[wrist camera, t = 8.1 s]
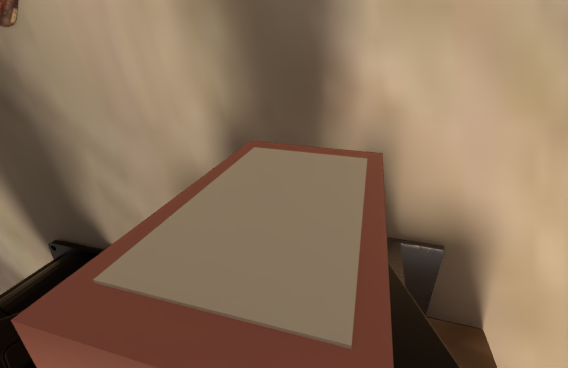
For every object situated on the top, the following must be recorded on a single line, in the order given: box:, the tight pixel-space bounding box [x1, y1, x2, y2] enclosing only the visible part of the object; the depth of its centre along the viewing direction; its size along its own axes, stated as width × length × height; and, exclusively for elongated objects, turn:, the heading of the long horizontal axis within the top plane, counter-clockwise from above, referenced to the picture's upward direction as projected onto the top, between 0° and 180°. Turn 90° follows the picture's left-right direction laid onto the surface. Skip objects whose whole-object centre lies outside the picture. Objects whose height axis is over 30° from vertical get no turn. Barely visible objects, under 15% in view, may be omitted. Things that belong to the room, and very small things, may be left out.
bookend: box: [387, 238, 445, 315], centre depth 14 cm, size 3×6×5 cm, turn 0°
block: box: [11, 141, 394, 368], centre depth 8 cm, size 4×10×7 cm, turn 0°
